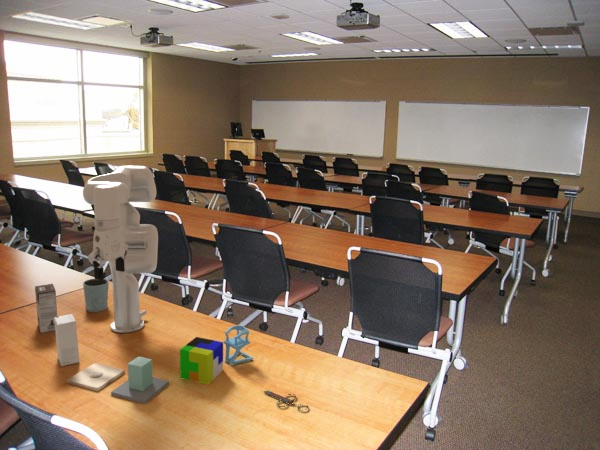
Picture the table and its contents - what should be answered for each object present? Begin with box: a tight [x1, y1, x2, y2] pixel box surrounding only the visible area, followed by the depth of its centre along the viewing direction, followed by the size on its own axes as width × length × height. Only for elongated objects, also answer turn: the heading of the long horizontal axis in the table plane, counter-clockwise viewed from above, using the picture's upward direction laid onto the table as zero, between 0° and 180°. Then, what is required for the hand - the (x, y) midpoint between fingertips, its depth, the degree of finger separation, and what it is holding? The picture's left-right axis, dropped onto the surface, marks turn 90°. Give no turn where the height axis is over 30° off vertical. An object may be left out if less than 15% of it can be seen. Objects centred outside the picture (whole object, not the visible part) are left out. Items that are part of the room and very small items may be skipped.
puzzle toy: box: [179, 336, 224, 385], centre depth 157 cm, size 10×10×10 cm
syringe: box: [259, 389, 310, 410], centre depth 145 cm, size 8×18×2 cm, turn 56°
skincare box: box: [54, 313, 81, 367], centre depth 162 cm, size 8×6×15 cm
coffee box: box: [34, 283, 58, 334], centre depth 187 cm, size 9×6×16 cm
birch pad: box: [66, 362, 126, 392], centre depth 153 cm, size 12×12×1 cm
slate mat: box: [110, 376, 170, 405], centre depth 148 cm, size 12×12×1 cm
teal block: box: [127, 356, 154, 392], centre depth 147 cm, size 5×5×8 cm
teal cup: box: [82, 278, 110, 313], centre depth 207 cm, size 10×10×12 cm
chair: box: [223, 325, 254, 366], centre depth 167 cm, size 8×8×12 cm
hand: (110, 274), depth 159 cm, fingers open, 9 cm apart
